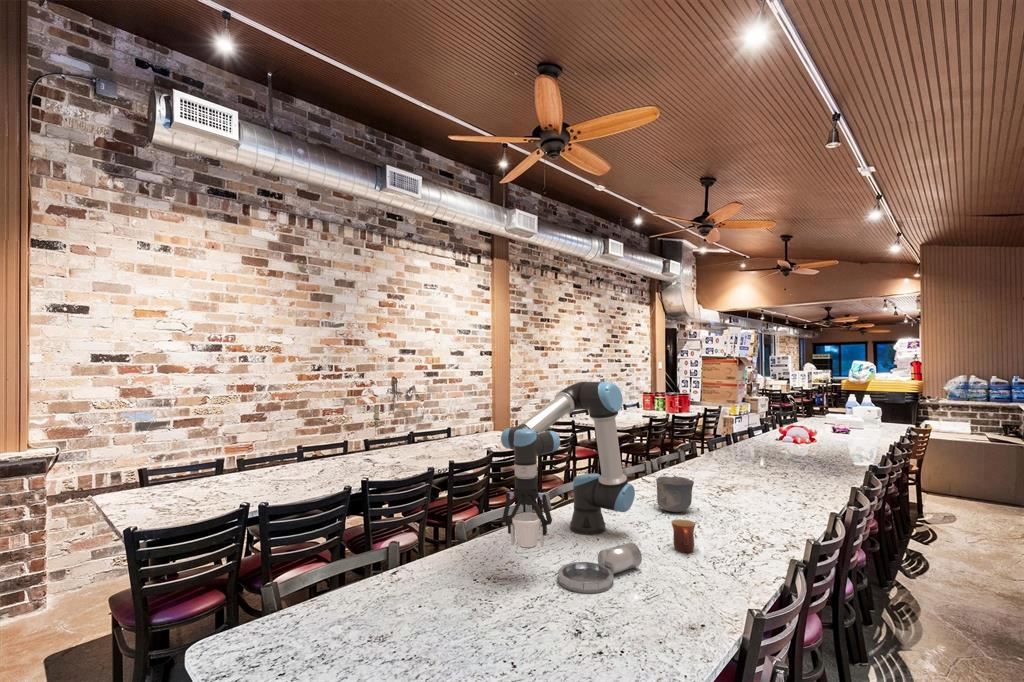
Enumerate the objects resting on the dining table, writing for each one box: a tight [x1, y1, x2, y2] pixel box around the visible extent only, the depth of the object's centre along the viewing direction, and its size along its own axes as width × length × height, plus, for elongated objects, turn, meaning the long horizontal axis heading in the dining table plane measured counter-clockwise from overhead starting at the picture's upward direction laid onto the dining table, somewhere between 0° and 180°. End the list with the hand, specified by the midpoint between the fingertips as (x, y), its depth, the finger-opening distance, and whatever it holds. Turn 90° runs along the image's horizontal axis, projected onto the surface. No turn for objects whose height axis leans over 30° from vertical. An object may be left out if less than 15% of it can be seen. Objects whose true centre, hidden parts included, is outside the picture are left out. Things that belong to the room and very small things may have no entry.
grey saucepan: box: [557, 542, 643, 595], centre depth 167 cm, size 31×18×8 cm, turn 123°
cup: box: [512, 512, 542, 549], centre depth 167 cm, size 10×10×9 cm
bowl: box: [655, 475, 695, 513], centre depth 240 cm, size 18×18×15 cm
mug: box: [670, 518, 696, 554], centre depth 189 cm, size 12×9×10 cm
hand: (527, 544), depth 167 cm, fingers closed on cup, 9 cm apart
